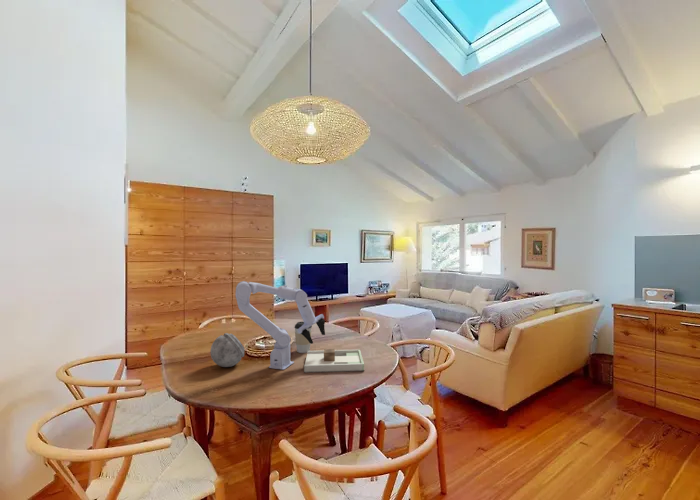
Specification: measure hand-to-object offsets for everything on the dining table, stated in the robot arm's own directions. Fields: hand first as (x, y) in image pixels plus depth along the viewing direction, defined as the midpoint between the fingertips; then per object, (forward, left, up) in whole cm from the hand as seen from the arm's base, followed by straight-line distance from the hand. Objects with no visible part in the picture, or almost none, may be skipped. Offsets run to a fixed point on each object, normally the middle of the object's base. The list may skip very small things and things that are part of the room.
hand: (317, 338), depth 153 cm
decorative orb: (-19, +36, -11) cm, 42 cm away
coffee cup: (+11, +13, -11) cm, 20 cm away
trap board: (-1, -9, -10) cm, 14 cm away
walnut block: (-2, -7, -8) cm, 11 cm away
